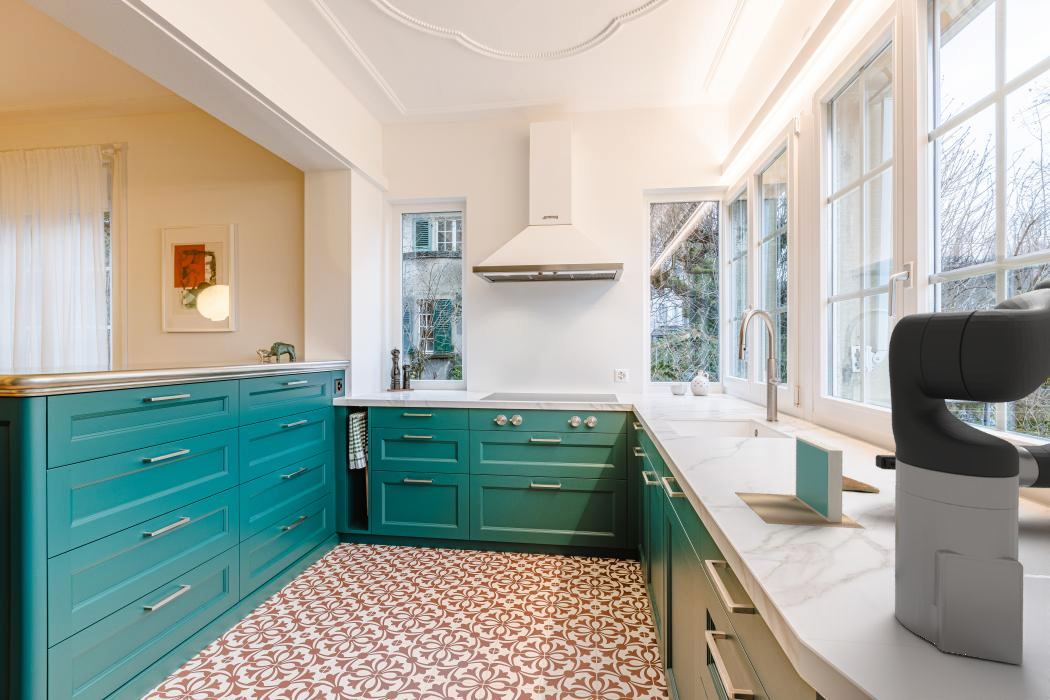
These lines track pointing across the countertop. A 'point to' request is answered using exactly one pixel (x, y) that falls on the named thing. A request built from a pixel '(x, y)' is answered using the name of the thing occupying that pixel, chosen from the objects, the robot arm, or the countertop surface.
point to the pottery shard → (857, 485)
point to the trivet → (789, 511)
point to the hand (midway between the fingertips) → (878, 462)
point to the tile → (819, 478)
